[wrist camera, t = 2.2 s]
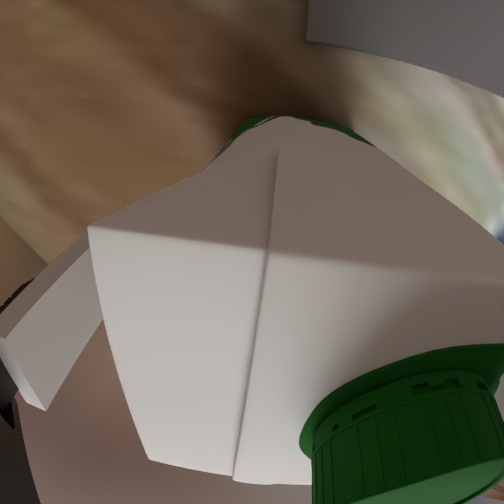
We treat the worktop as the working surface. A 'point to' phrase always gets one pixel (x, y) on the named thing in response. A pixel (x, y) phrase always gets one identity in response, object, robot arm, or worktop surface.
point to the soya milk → (309, 321)
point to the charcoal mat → (419, 34)
